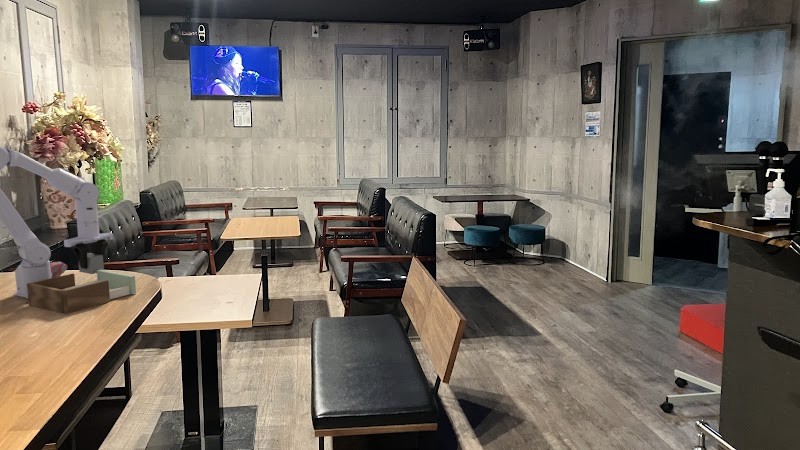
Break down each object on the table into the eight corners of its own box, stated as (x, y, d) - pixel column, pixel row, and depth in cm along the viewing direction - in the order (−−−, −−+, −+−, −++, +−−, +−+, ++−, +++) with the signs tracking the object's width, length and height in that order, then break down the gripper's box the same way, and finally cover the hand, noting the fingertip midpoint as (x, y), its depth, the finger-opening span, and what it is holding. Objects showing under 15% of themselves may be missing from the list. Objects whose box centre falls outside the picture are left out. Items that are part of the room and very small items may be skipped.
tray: (59, 297, 177) (57, 279, 176) (105, 285, 190) (104, 268, 189) (93, 305, 170) (92, 286, 169) (139, 292, 182) (137, 274, 181)
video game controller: (42, 289, 192) (49, 269, 191) (29, 282, 193) (36, 262, 191) (65, 281, 202) (72, 262, 200) (53, 274, 202) (60, 255, 201)
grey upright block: (91, 274, 186) (90, 257, 186) (79, 271, 189) (77, 255, 188) (104, 271, 190) (102, 255, 189) (91, 268, 193) (90, 252, 192)
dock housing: (28, 305, 170) (26, 283, 169) (74, 293, 182) (72, 273, 181) (64, 314, 162) (62, 291, 162) (110, 301, 174) (108, 280, 173)
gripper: (73, 226, 179) (76, 273, 181) (118, 219, 191) (121, 263, 194) (58, 224, 182) (61, 270, 185) (103, 218, 195) (106, 261, 197)
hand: (91, 266), depth 189 cm, fingers closed on grey upright block, 4 cm apart
